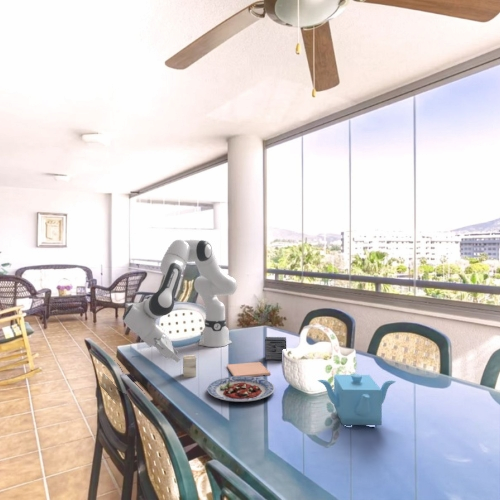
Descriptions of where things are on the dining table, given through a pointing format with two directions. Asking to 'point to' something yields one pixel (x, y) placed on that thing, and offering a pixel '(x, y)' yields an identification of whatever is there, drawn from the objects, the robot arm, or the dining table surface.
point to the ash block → (189, 366)
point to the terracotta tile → (248, 369)
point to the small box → (274, 348)
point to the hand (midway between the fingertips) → (177, 357)
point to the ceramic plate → (241, 388)
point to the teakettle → (357, 399)
